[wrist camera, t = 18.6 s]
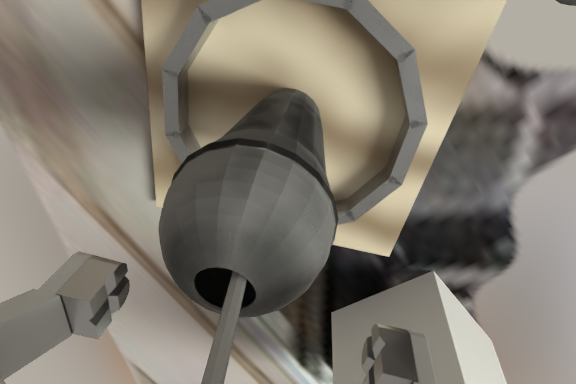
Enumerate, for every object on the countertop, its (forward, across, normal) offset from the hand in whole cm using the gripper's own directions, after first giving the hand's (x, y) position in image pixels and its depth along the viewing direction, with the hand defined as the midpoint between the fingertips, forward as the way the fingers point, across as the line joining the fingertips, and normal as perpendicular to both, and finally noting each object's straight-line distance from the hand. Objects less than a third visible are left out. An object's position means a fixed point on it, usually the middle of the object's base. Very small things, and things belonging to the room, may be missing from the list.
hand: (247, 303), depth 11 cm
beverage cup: (+16, +1, 0) cm, 16 cm away
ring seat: (+16, +1, 0) cm, 16 cm away
